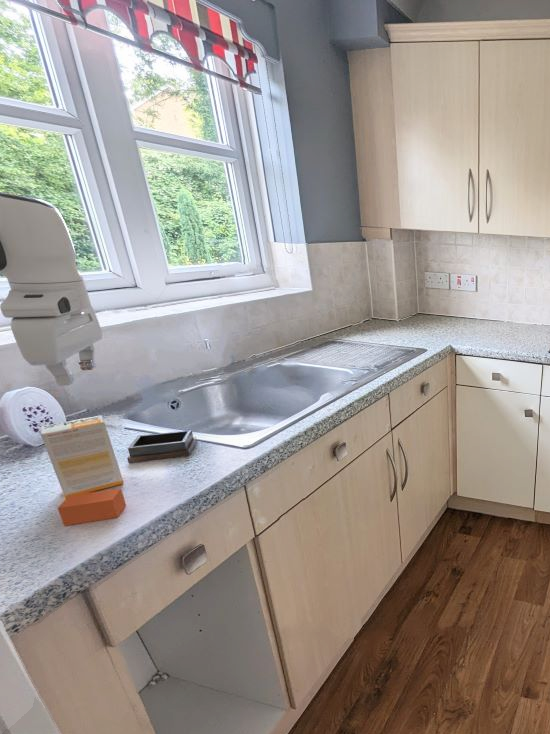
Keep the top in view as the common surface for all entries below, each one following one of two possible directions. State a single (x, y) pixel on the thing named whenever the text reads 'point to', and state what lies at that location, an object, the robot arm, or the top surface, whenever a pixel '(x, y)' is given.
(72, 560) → the top surface
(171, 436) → the dark grey tray
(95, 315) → the robot arm
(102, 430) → the supplement box
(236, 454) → the top surface
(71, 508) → the block
